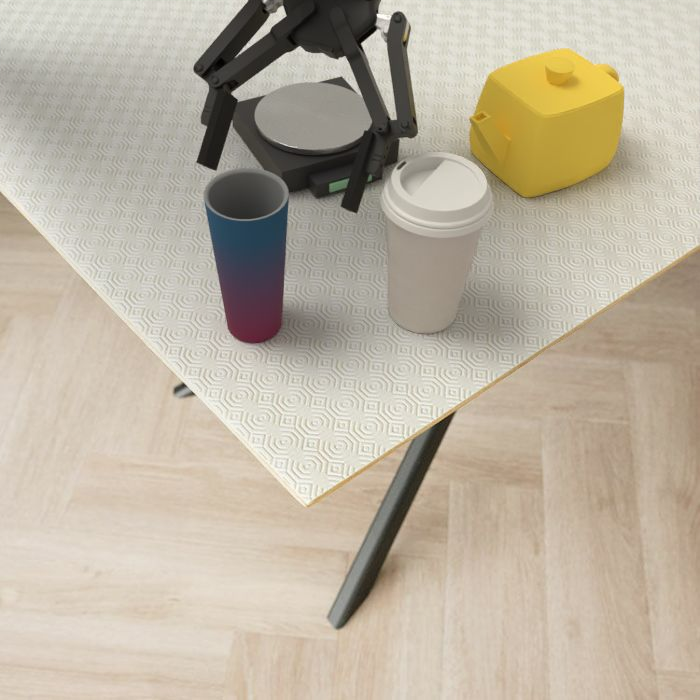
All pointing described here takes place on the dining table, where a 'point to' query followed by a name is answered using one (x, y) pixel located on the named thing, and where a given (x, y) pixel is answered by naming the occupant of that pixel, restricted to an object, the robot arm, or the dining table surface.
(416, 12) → the dining table surface
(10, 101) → the dining table surface
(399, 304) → the coffee cup
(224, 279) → the cup
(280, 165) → the scale
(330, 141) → the scale pan
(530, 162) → the teapot
